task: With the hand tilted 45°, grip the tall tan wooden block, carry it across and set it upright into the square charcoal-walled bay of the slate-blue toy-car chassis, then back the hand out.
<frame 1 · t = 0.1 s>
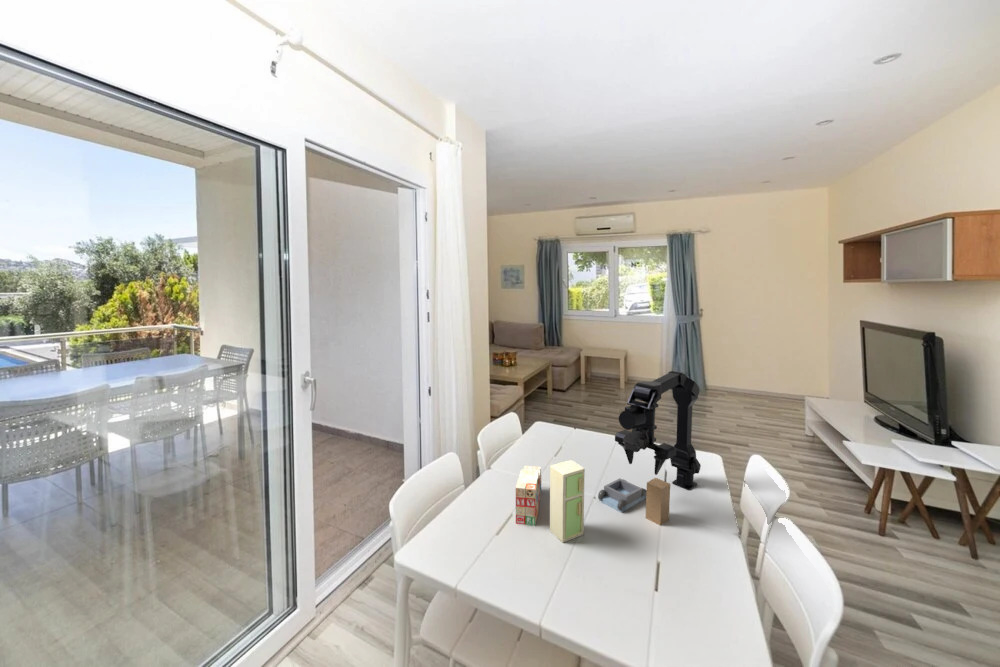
hand: (643, 468, 125), 15 cm above the table, tool pointing down, fingers open, 9 cm apart
tall tan wooden block: (657, 518, 123), on the table
chassis: (622, 499, 134), on the table
toy refrigerator: (567, 534, 116), on the table
stack of blocks: (529, 506, 131), on the table
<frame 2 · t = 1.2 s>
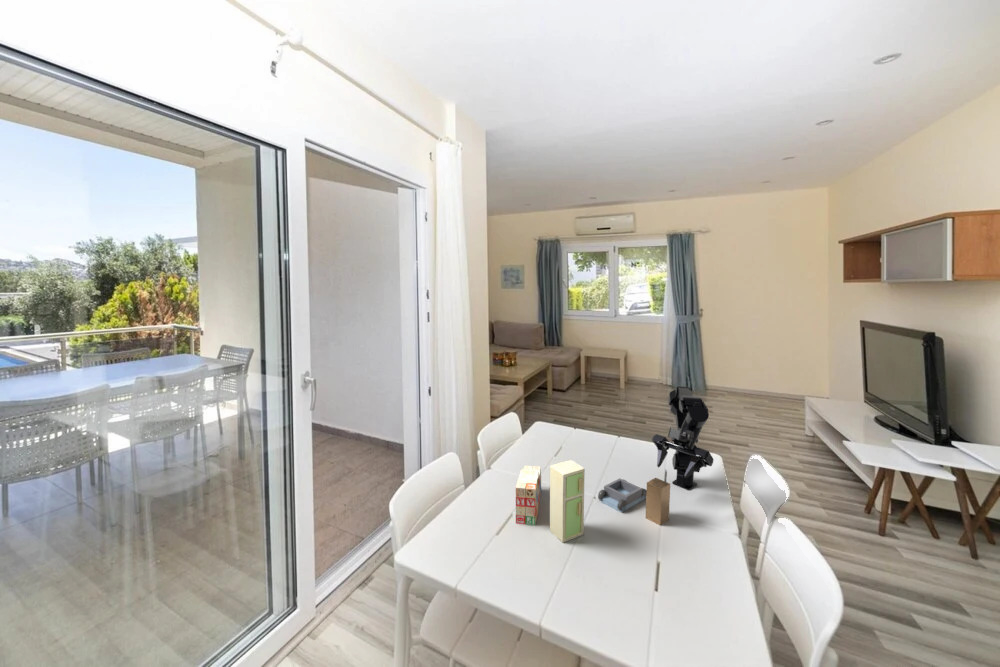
hand: (671, 471, 126), 13 cm above the table, tool tilted 45°, fingers open, 9 cm apart
nothing on the table moved.
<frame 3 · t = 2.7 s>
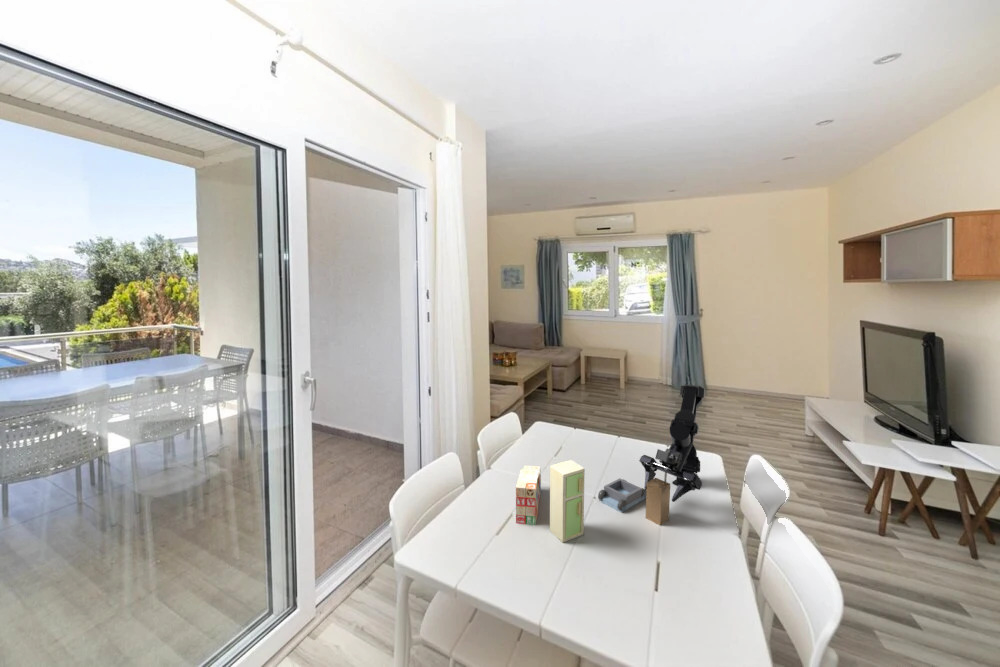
hand: (658, 494, 122), 8 cm above the table, tool tilted 45°, fingers open, 9 cm apart
nothing on the table moved.
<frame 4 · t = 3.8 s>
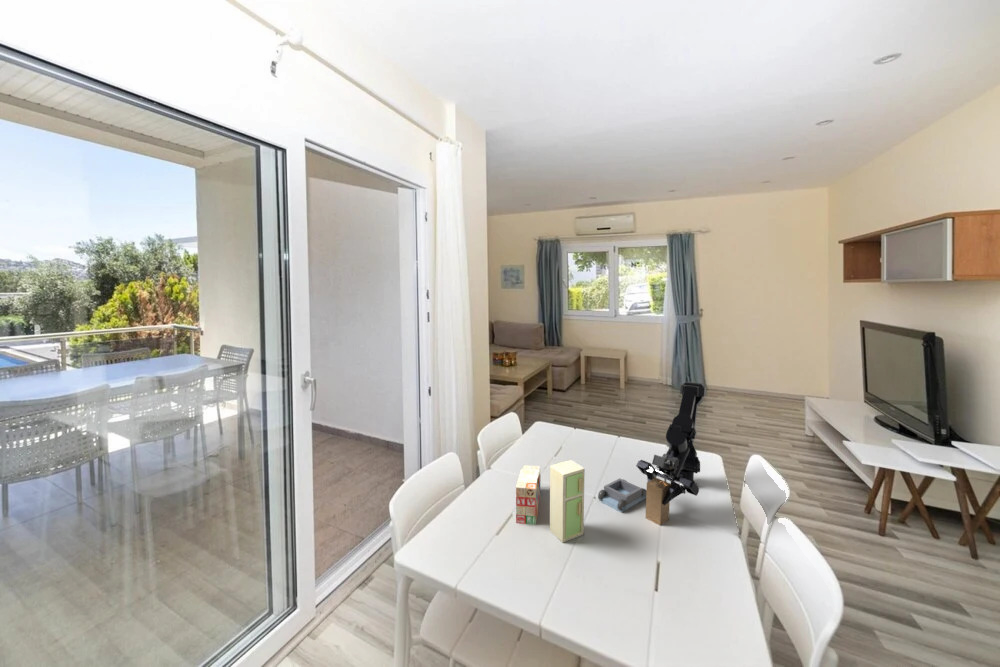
hand: (655, 500, 121), 7 cm above the table, tool tilted 45°, fingers closed on tall tan wooden block, 5 cm apart
tall tan wooden block: (657, 518, 123), on the table, touching gripper
everything else where it was.
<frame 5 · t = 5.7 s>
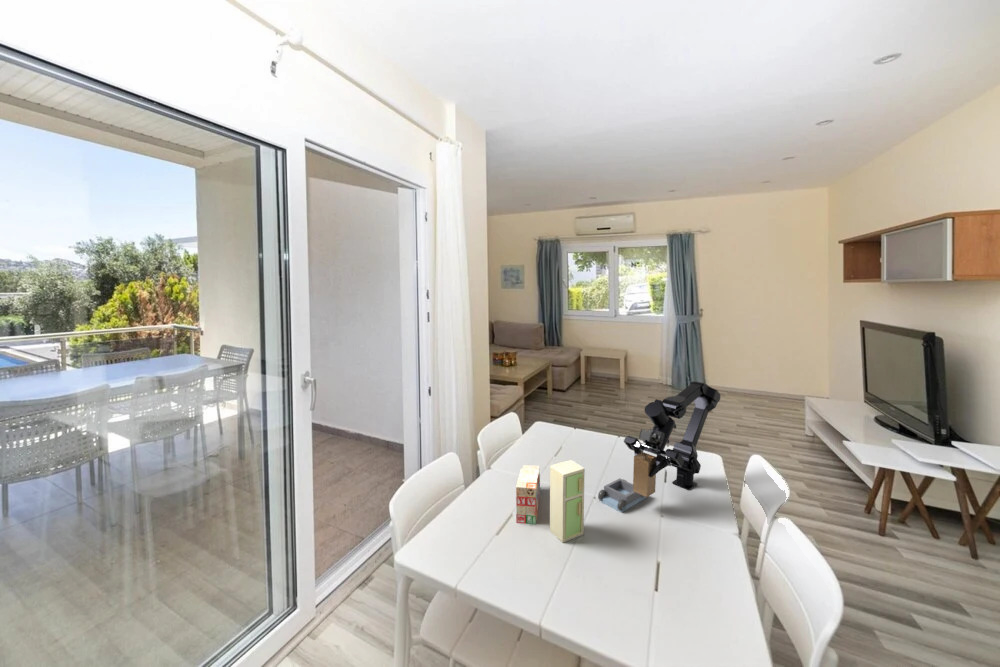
hand: (642, 473, 125), 13 cm above the table, tool tilted 45°, fingers closed on tall tan wooden block, 5 cm apart
tall tan wooden block: (644, 491, 126), point 7 cm above the table, touching gripper
everything else where it was.
when the fingers open (9 cm above the table, at t = 7.6 s): tall tan wooden block drops 1 cm, resting on chassis.
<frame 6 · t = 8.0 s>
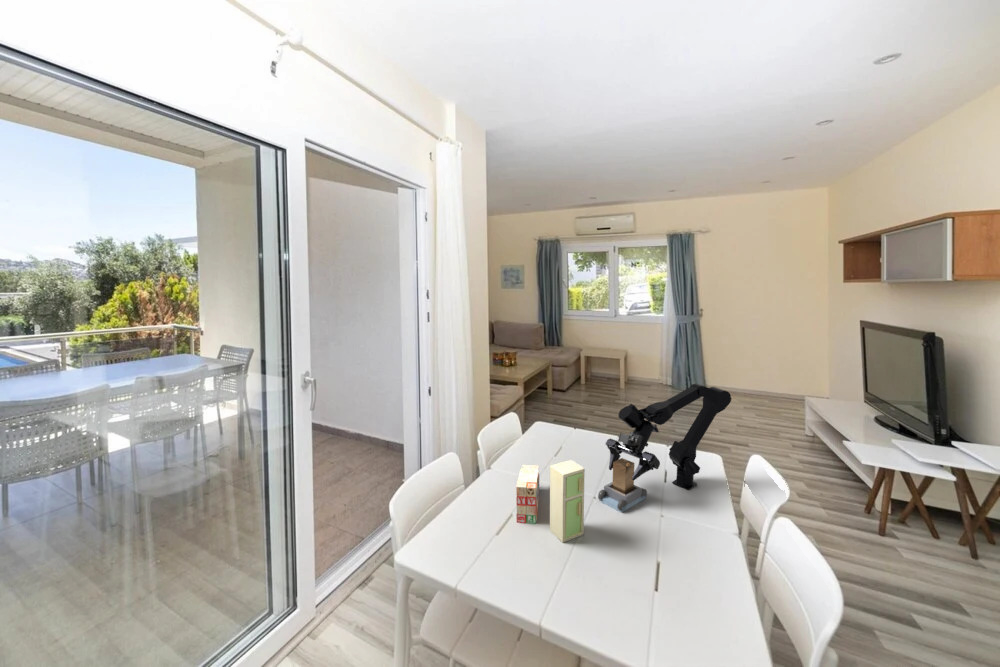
hand: (620, 474, 132), 10 cm above the table, tool tilted 45°, fingers open, 9 cm apart
tall tan wooden block: (622, 495, 134), point 1 cm above the table, touching chassis
everything else where it was.
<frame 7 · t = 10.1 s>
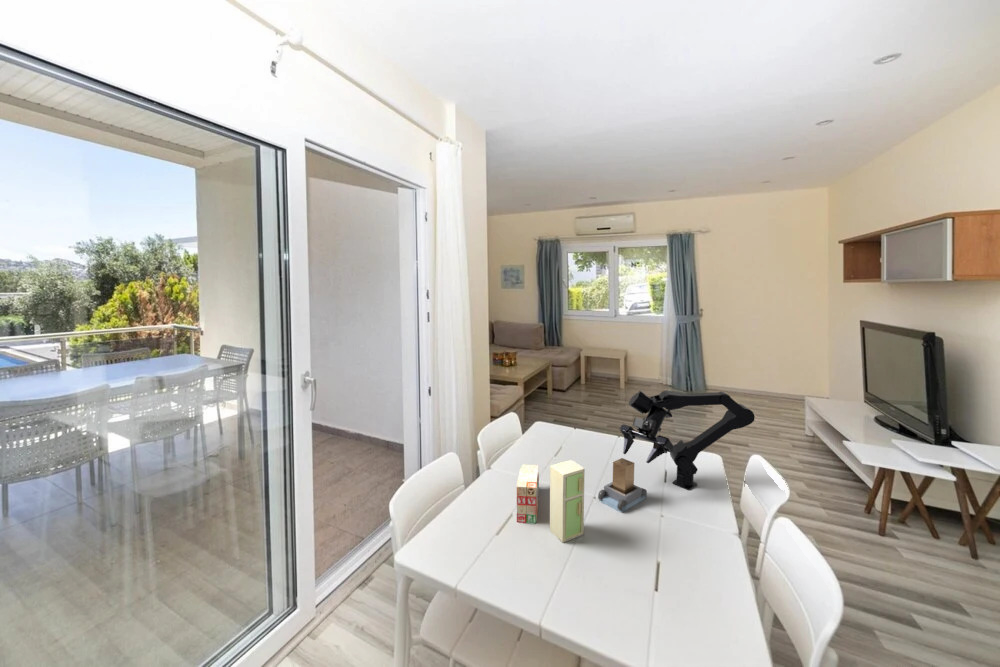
hand: (635, 458, 136), 13 cm above the table, tool tilted 45°, fingers open, 9 cm apart
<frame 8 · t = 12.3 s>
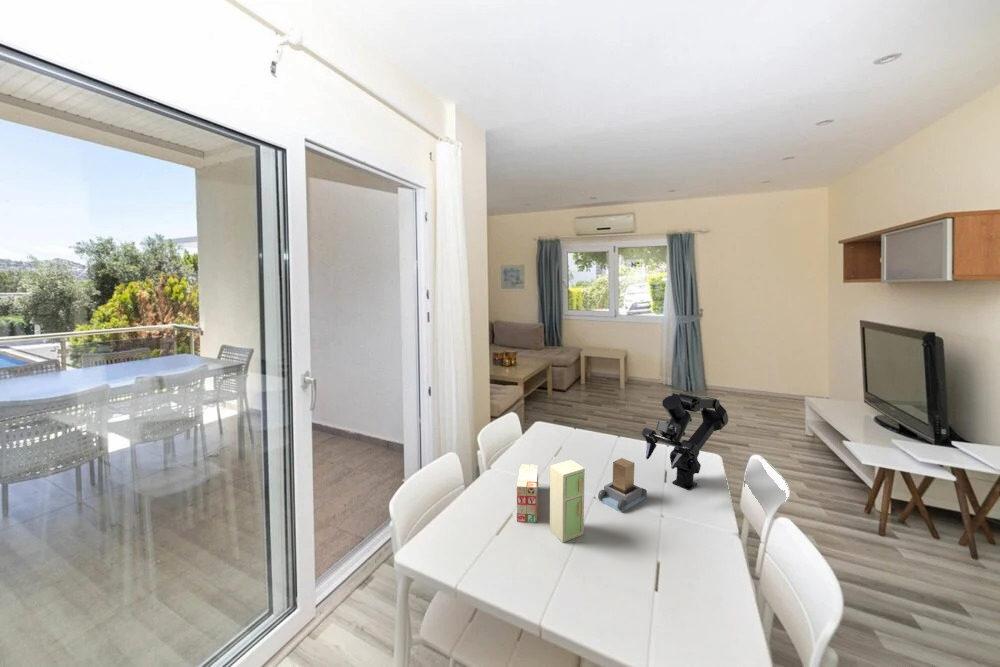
hand: (659, 463, 131), 14 cm above the table, tool tilted 45°, fingers open, 9 cm apart
at the end: tall tan wooden block 0.0 cm off-centre on the chassis, point 1.5 cm above the chassis's base; tall tan wooden block tilted 0°; the gripper is holding nothing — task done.
